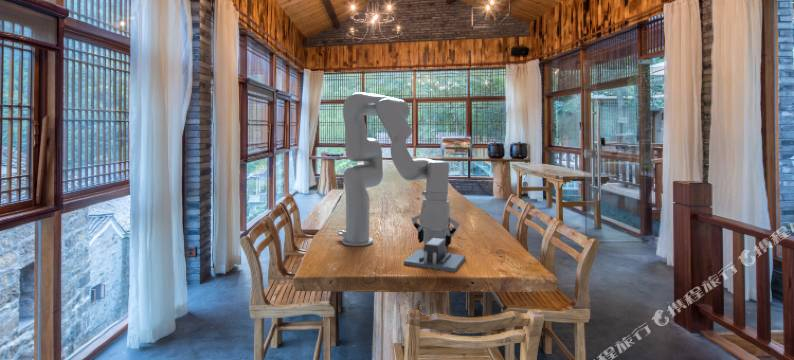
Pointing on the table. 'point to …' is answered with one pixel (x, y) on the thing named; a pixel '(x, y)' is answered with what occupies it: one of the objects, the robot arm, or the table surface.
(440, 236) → the teacup
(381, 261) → the table surface
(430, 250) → the block
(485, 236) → the table surface
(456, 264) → the grey stand
